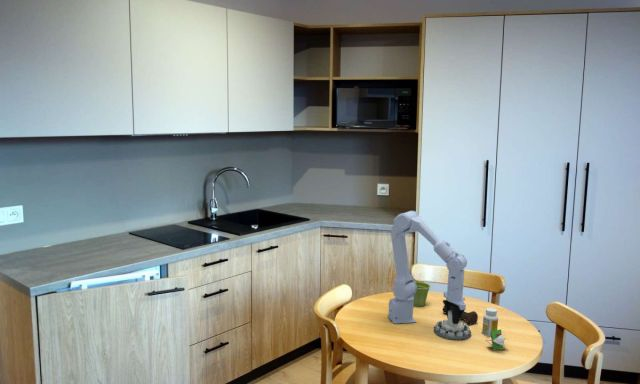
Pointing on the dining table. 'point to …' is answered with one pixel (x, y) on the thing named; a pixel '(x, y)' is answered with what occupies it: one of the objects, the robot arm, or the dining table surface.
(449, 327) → the planet gear
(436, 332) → the carrier
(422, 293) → the plant pot
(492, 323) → the supplement bottle
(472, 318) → the bolt
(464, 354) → the dining table surface
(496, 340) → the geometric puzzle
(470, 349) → the dining table surface
